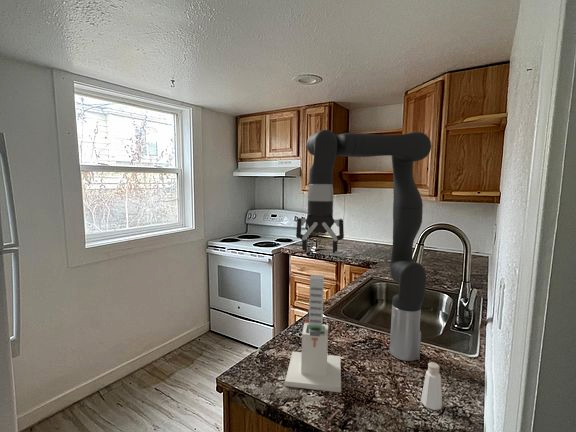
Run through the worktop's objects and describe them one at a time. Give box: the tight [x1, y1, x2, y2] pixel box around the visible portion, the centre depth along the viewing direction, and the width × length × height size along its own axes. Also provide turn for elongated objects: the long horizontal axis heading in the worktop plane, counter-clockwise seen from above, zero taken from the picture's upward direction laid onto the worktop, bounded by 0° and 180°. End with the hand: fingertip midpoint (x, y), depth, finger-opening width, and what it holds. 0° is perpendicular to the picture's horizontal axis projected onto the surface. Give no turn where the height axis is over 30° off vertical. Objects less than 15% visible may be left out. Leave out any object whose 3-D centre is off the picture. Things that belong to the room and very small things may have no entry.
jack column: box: [308, 274, 325, 334], centre depth 92 cm, size 4×4×22 cm
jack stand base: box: [284, 322, 342, 393], centre depth 94 cm, size 16×16×15 cm
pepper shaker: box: [420, 361, 443, 411], centre depth 81 cm, size 5×5×11 cm
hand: (319, 252), depth 93 cm, fingers open, 8 cm apart
